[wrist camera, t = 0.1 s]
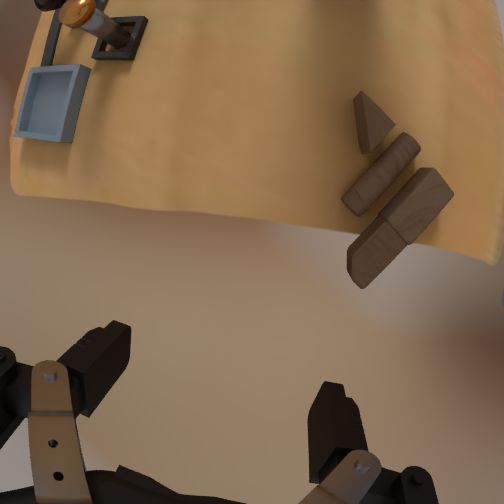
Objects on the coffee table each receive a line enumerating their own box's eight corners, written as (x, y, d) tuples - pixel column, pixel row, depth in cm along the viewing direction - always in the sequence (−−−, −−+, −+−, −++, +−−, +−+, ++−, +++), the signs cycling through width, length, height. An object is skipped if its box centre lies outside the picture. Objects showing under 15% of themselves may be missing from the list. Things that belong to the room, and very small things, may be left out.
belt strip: (58, 5, 33) (57, 4, 32) (68, 2, 33) (66, 1, 32) (41, 71, 37) (39, 70, 36) (51, 68, 36) (48, 67, 36)
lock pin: (114, 27, 34) (66, -4, 22) (138, 27, 34) (92, -10, 22) (105, 52, 35) (53, 25, 23) (128, 52, 35) (78, 21, 23)
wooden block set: (464, 190, 30) (366, 296, 35) (443, 186, 36) (356, 280, 41) (369, 82, 29) (261, 196, 34) (358, 93, 34) (264, 192, 39)
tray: (41, 70, 37) (30, 67, 34) (91, 68, 36) (80, 64, 33) (25, 136, 40) (14, 136, 37) (72, 143, 39) (60, 142, 37)
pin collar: (110, 21, 34) (106, 18, 32) (148, 20, 34) (144, 16, 32) (96, 60, 36) (91, 57, 34) (133, 60, 35) (128, 57, 34)
